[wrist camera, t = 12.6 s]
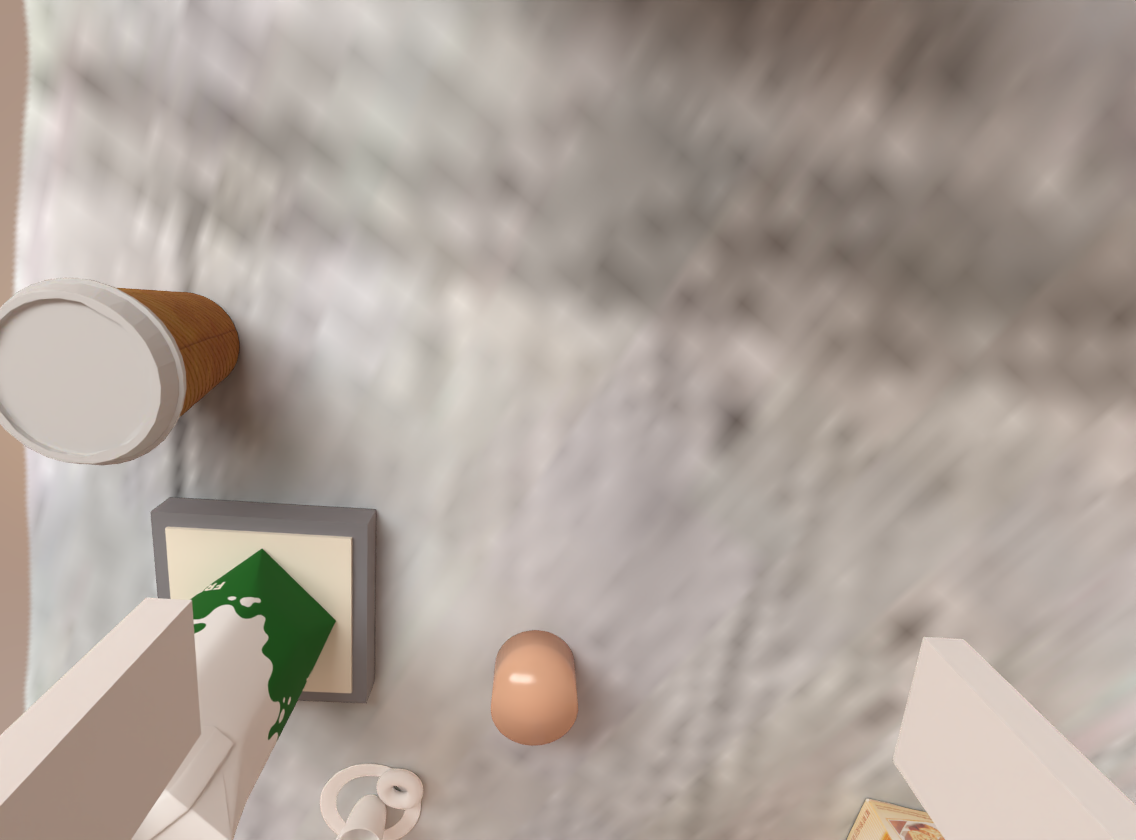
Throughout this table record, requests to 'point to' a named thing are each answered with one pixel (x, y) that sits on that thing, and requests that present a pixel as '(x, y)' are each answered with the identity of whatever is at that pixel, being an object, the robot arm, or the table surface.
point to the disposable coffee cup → (106, 366)
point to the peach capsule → (534, 688)
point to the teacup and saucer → (373, 803)
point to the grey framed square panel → (304, 550)
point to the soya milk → (239, 694)
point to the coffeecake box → (892, 823)
